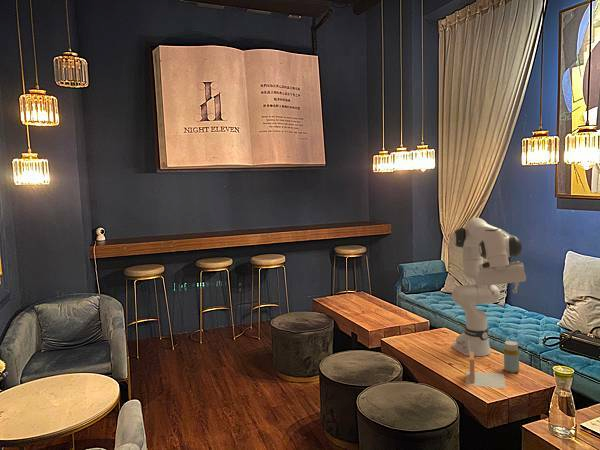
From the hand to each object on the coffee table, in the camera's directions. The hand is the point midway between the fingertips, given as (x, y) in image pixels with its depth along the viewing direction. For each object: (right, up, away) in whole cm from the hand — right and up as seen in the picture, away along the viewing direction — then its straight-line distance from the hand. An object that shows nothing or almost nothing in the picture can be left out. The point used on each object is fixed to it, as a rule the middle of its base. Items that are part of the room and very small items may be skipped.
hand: (504, 294), depth 214 cm
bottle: (+18, -44, +33) cm, 58 cm away
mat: (+1, -46, +25) cm, 53 cm away
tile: (-5, -46, +27) cm, 54 cm away
